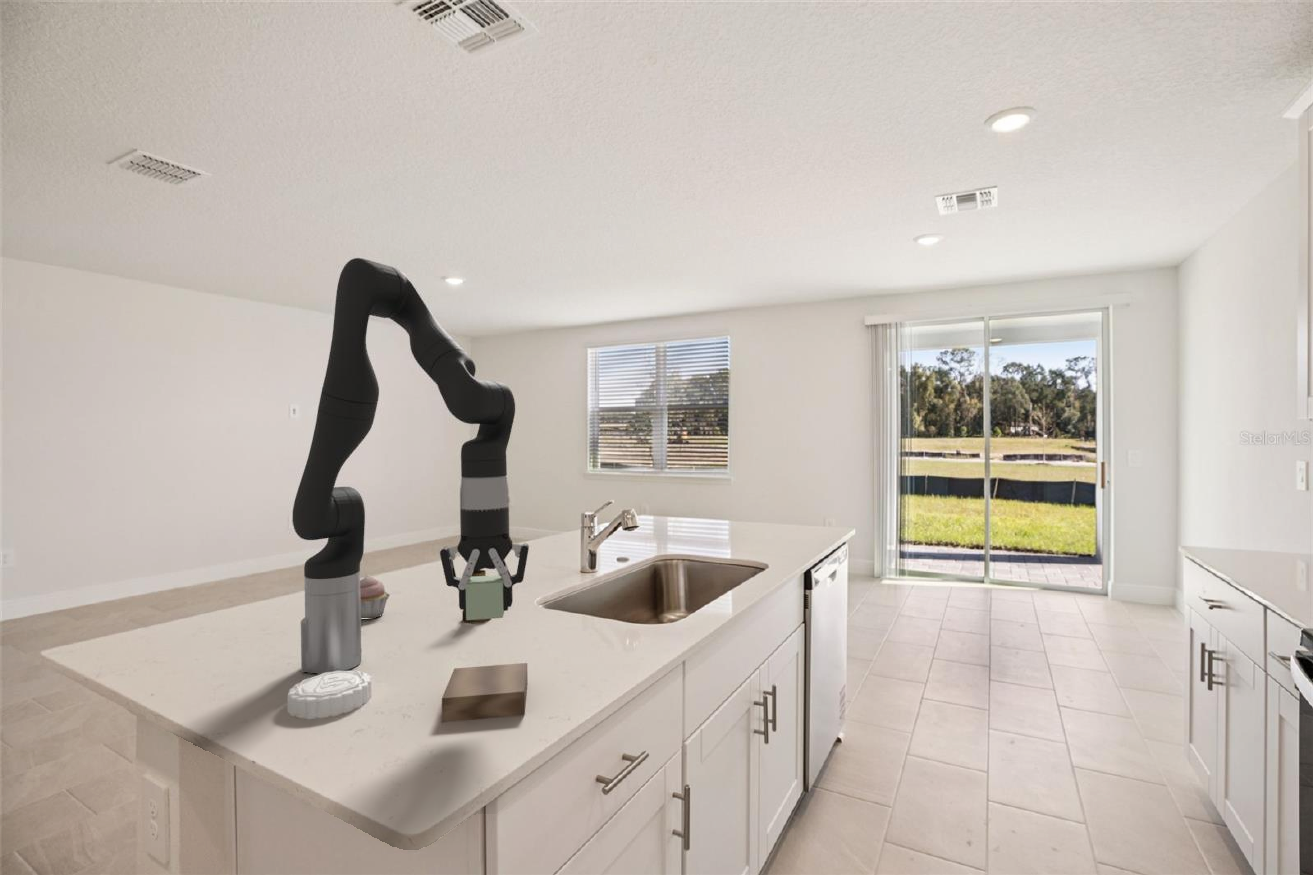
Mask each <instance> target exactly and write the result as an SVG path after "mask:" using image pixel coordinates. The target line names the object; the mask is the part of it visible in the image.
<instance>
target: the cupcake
mask: <svg viewBox="0 0 1313 875" xmlns="http://www.w3.org/2000/svg"><path fill="white" fill-rule="evenodd" d="M390 595H391V593H388V592H386V591H385V585H384V584H383V582H382V581H380V580H378V579H376V578H375V577H373V576H372V575H369V574H366V575H365V576H364V577H363V578H362V579H360V599H361V618H374V619H377V618H376V617H378V618H380V617H381V616H380V615H382V614H383V615H384V612H385V608H386V604H387V601H388V599H389V597H390ZM383 615H382V616H383ZM379 616H380V617H379Z"/></svg>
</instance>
